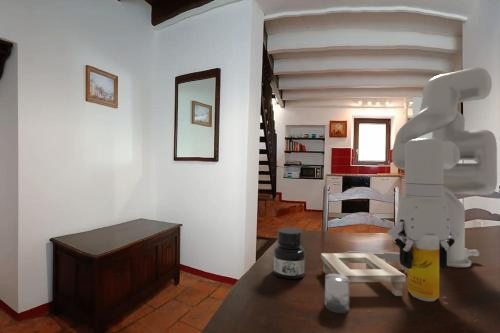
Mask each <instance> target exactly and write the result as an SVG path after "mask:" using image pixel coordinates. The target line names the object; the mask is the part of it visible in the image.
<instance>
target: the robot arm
mask: <svg viewBox="0 0 500 333" xmlns="http://www.w3.org/2000/svg"><path fill="white" fill-rule="evenodd" d="M492 84H493V82H492V78H491V75H490V73H489V71H488V70H487V69H485V68H483V67H472V68H465V69H461V70H457V71H453V72H447V73H443V74H439V75H436V76H434V77H432V78H430V79H429V80H428V81H427V82H426V84H425V86H424V87H423V89H422V99H421V103H420V104H421V105H420V109H419V112H418V113H417V114H415V115H413V117H411V118H410V119H408V121H406V122H405V123H404V124H403V125H402V126H401V127H400V128H399V129H398V130H397V133H396V136H395V139H394V143H393V147H392V152H391V160H392V163H393V165H394V167H396V168H397V169H399V170H404V195H401V196H400V198H399V204H398V207H397V215H396V223H395V225H394V226H392V228H390V229H389V230H387V235H388V236H389V237H390V239H391V241H392V242H393V243H394V244H395V245H396V247H397V248H399V253H400V264H401V265H403V266H404V267H405V269H407V270H408V269H411V268H412V252H411V251H409V249H410V248H411V246H412V244H413V243H414V241H419V240H420V239H421V238H422V237H423V236H424V234H427V235H435V234H437V237H438V238H439V268H441V269H448V267H453V268H469V267H471V266H472V260H470V258H469V257H478V256H480V252H479V250H478V249H468V248H466V247H465V246H466V244H465V243H466V242H465V238H466V236H465V234H466V230H465V229H466V225H465V224H466V221H465V220H466V210H465V209H466V208H465V206H464V204H463V203H462V201H461V200H460V199H458V197H456V196H455V194H457V195H459V194H460V195H461V194H463V195H464V194H465V195H477V196H478V195H480V196H481V195H482V196H484V195H487V196H488V195H491V194H493V193H494V192H495V191H496V189H497V187H498V186H497V185H498V147H497V138H496V135H495V134H494V133H493V132H492V131H490V130H489V129H472V130H471V129H470V130H466V129H465V121H466V119H465V117H464V115H463V114H462V113H461V112H460V111H459V110H458V103H459V104H460V103H465V102H471V101H480V100H483V99H486V98H487V97H488V96H489V95H490V93H491V91H492ZM430 133H431V135H432V136H431V137H423V138H420V137H422V136H425V135H427V134H430ZM460 161H474V162H476V163H474V162H473V163H472V162H471V163H463V162H462V163H459V162H460Z"/></svg>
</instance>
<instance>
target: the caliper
mask: <svg viewBox="0 0 500 333" xmlns="http://www.w3.org/2000/svg"><path fill="white" fill-rule="evenodd" d="M344 253H372V254H374V255H375V256H377V257H378V258H380V259H381V260H385V262H386V263H388V262H390V263H393V262H397V263H398V266H400V268H401V270H402V271H405V270H406V267H404V266H403V265H401V264H400V252H395V251H394V252H391V251H385V252H382V253H381V252H369V251H368V252H367V251H355V250H354V251H352V250H349V251H348V250H347V251H346V252H344Z"/></svg>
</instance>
